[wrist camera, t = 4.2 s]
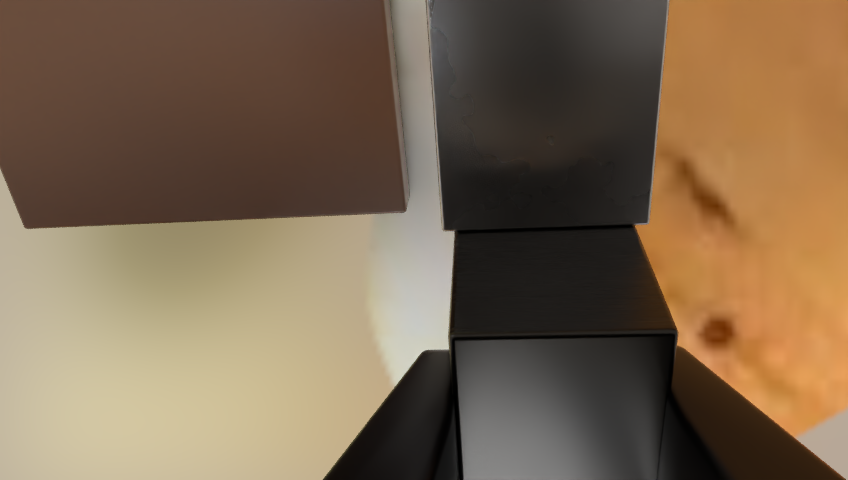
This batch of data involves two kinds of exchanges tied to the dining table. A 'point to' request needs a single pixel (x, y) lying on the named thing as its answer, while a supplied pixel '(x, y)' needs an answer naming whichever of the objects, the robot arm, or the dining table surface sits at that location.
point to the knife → (552, 234)
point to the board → (199, 110)
